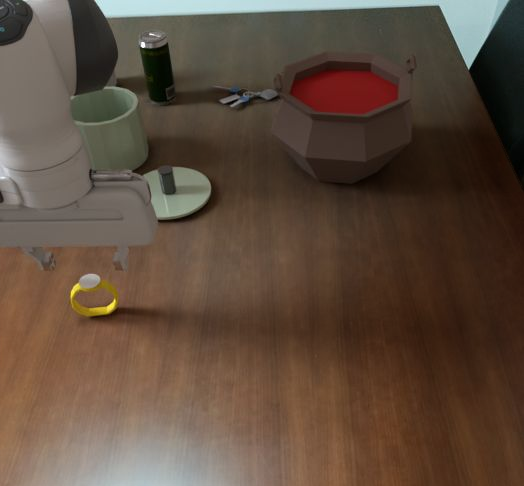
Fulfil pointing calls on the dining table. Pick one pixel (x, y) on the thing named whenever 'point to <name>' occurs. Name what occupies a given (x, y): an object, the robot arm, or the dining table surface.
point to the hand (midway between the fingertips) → (85, 267)
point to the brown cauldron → (344, 113)
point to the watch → (90, 285)
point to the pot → (111, 128)
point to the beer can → (157, 67)
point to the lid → (177, 191)
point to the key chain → (265, 94)
